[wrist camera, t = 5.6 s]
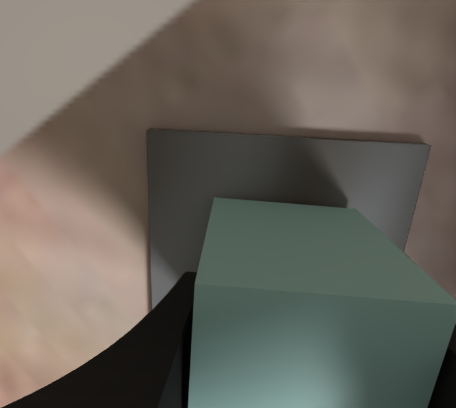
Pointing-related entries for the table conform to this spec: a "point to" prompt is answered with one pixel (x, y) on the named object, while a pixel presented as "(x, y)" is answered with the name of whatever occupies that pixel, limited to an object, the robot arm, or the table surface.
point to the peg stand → (269, 185)
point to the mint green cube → (311, 312)
